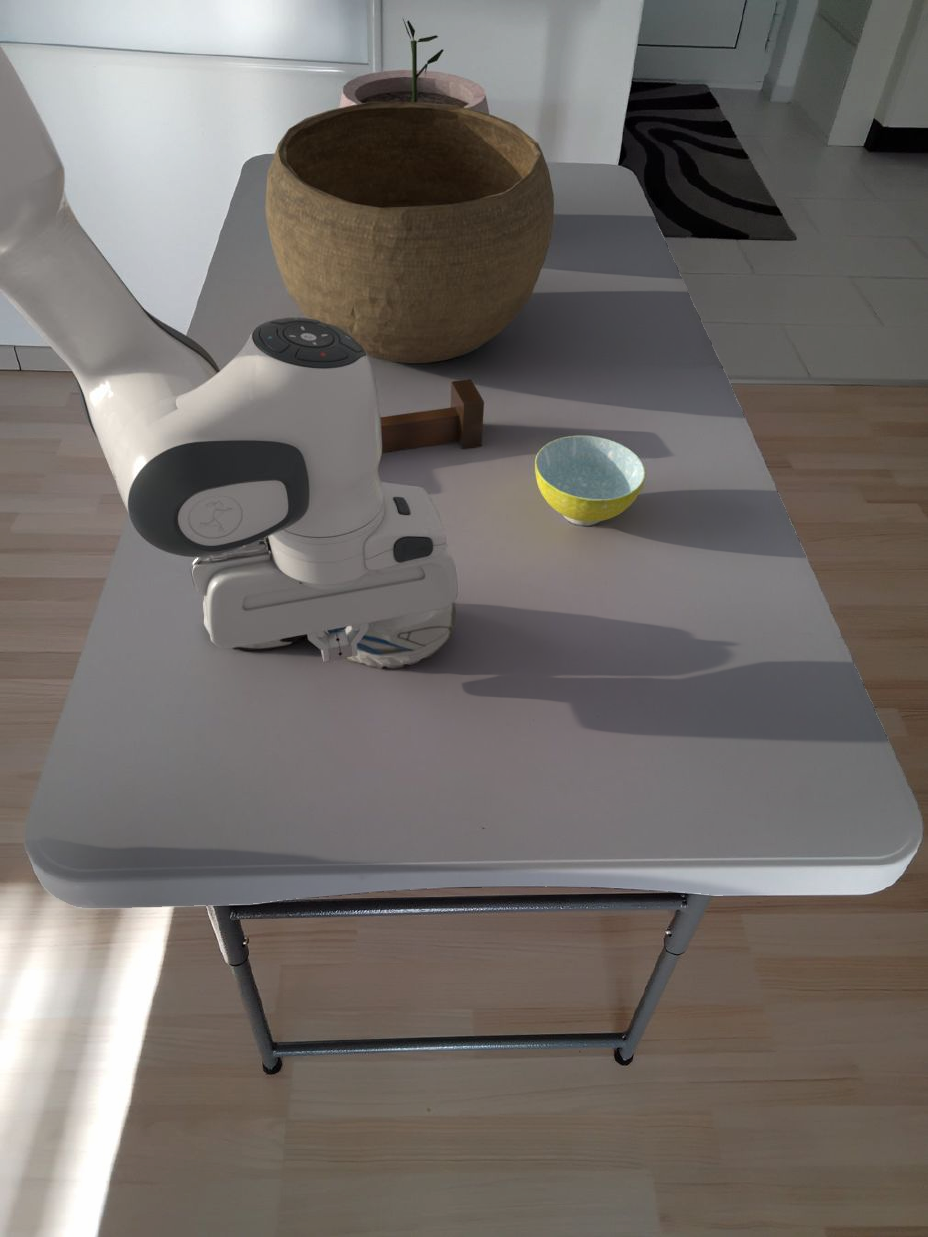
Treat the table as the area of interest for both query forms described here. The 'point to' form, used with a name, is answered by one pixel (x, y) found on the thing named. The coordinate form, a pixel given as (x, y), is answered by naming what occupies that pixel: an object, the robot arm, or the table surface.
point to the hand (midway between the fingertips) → (339, 653)
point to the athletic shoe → (387, 638)
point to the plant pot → (415, 85)
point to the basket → (410, 224)
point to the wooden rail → (438, 422)
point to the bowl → (588, 478)
